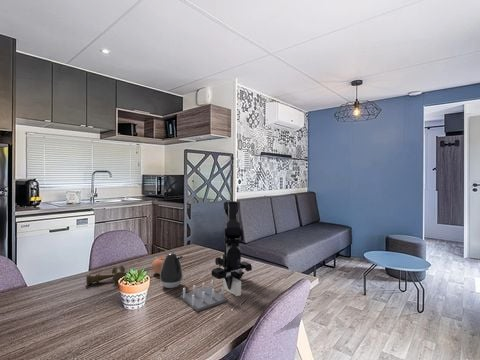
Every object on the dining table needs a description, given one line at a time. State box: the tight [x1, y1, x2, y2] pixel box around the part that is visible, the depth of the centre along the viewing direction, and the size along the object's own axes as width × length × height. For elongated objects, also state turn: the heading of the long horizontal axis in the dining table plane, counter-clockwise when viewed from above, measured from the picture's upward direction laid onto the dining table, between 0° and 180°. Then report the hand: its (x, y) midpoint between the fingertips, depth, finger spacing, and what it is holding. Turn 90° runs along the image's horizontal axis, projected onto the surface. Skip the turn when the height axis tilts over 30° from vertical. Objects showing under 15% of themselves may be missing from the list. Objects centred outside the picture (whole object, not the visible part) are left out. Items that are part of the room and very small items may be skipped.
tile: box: [222, 277, 242, 297], centre depth 118 cm, size 2×10×6 cm, turn 39°
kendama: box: [85, 264, 128, 286], centre depth 127 cm, size 6×10×20 cm
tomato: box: [151, 256, 166, 275], centre depth 138 cm, size 11×11×8 cm
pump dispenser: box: [159, 252, 184, 289], centre depth 122 cm, size 10×10×15 cm
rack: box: [180, 279, 228, 312], centre depth 110 cm, size 15×14×5 cm
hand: (231, 288), depth 118 cm, fingers closed on tile, 2 cm apart
